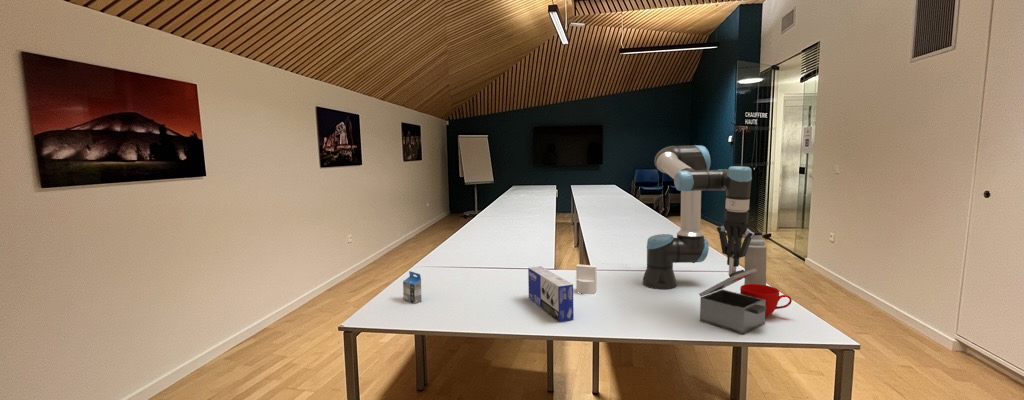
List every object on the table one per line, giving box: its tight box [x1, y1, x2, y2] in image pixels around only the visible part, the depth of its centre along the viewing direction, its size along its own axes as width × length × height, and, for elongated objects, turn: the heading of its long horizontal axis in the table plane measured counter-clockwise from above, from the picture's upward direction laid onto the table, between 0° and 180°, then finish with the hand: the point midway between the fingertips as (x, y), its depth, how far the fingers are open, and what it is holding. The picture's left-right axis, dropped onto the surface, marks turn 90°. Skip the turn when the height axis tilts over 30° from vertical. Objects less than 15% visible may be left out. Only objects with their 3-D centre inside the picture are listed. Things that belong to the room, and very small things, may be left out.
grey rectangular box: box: [699, 288, 766, 335], centre depth 161 cm, size 18×15×9 cm
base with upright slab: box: [575, 263, 598, 295], centre depth 201 cm, size 9×9×12 cm
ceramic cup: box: [739, 283, 793, 318], centre depth 169 cm, size 13×17×10 cm
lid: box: [698, 268, 757, 298], centre depth 163 cm, size 16×15×2 cm
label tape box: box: [402, 270, 423, 304], centre depth 194 cm, size 9×4×12 cm, turn 47°
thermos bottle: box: [743, 231, 767, 285], centre depth 186 cm, size 8×8×28 cm
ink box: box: [527, 265, 575, 323], centre depth 181 cm, size 30×7×14 cm, turn 20°
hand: (732, 274), depth 161 cm, fingers closed
